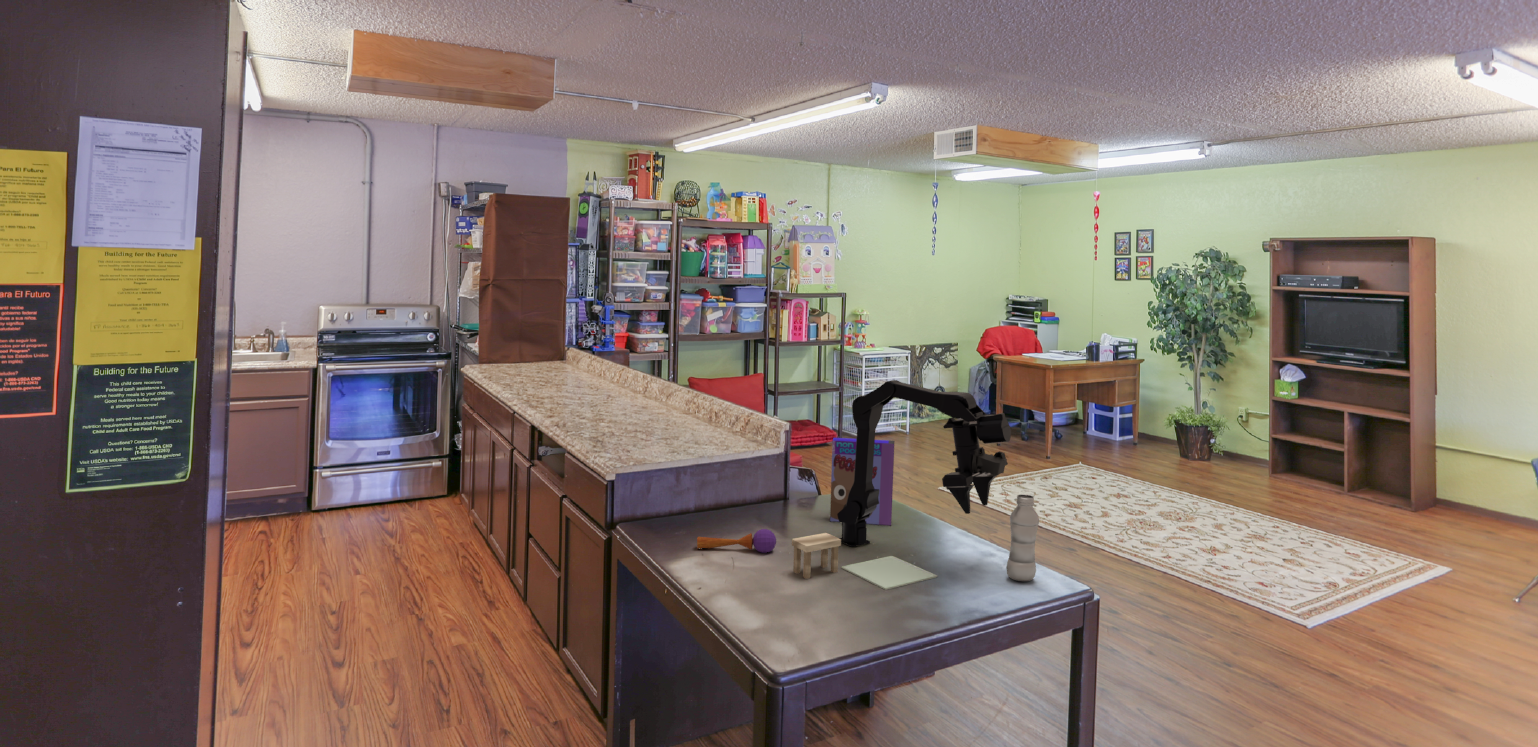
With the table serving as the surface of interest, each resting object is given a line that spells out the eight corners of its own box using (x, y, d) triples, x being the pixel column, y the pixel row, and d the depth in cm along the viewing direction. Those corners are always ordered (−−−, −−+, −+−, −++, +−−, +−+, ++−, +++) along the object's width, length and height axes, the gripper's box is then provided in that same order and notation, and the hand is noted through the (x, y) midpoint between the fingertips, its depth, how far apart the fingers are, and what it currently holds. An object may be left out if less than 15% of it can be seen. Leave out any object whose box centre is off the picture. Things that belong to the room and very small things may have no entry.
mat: (841, 568, 193) (841, 566, 193) (891, 557, 202) (891, 555, 202) (885, 589, 180) (885, 588, 180) (937, 577, 189) (937, 575, 188)
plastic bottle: (1001, 574, 191) (1005, 492, 189) (1029, 574, 192) (1033, 492, 189) (1011, 584, 185) (1016, 499, 182) (1040, 584, 185) (1045, 499, 183)
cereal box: (830, 521, 231) (832, 439, 229) (831, 517, 236) (834, 436, 233) (891, 525, 228) (894, 443, 226) (891, 521, 233) (894, 439, 231)
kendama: (699, 530, 209) (776, 527, 207) (700, 553, 208) (777, 550, 207) (695, 532, 203) (774, 529, 201) (696, 556, 202) (775, 553, 201)
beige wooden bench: (790, 571, 190) (791, 538, 189) (824, 564, 195) (825, 532, 195) (805, 579, 185) (806, 546, 184) (840, 572, 190) (841, 539, 190)
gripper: (980, 449, 181) (990, 518, 181) (1014, 437, 195) (1024, 500, 195) (936, 452, 188) (946, 518, 188) (972, 439, 202) (982, 501, 202)
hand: (976, 509), depth 193 cm, fingers open, 9 cm apart
